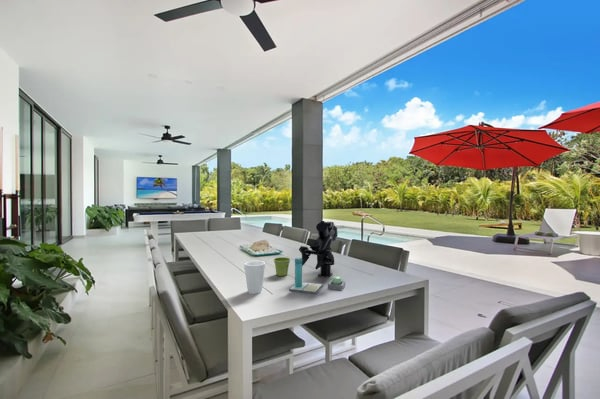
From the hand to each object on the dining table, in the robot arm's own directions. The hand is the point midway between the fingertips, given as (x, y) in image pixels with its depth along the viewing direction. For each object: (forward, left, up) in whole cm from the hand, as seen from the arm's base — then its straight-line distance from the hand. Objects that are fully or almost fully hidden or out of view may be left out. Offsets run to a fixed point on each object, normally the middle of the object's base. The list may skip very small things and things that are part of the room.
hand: (308, 267), depth 141 cm
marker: (+8, -2, -7) cm, 11 cm away
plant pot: (-11, -19, -9) cm, 23 cm away
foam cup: (+18, -20, -9) cm, 28 cm away
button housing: (-1, +14, -8) cm, 16 cm away
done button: (-1, +14, -7) cm, 16 cm away
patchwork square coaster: (+6, +1, -8) cm, 11 cm away
